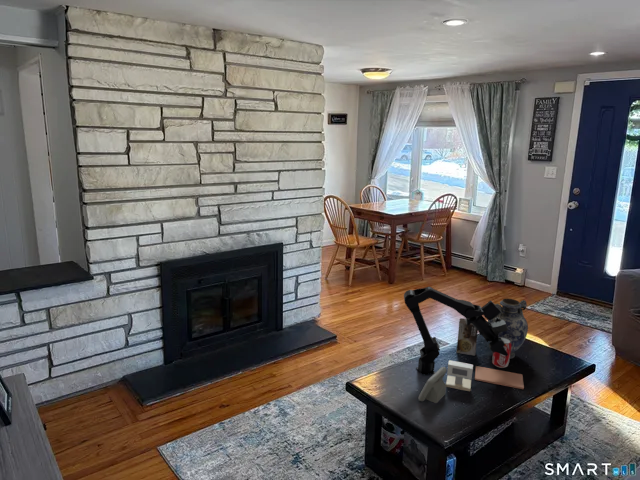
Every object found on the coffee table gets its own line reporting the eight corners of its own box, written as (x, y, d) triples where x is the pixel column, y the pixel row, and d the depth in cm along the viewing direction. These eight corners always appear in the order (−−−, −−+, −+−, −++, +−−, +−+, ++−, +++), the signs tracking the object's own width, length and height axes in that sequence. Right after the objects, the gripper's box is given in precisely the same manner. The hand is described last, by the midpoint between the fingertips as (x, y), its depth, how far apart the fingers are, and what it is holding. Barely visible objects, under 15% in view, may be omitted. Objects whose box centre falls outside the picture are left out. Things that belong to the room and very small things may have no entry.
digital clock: (434, 384, 203) (437, 362, 201) (452, 393, 196) (455, 370, 194) (411, 397, 193) (413, 374, 190) (429, 407, 186) (431, 383, 184)
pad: (474, 379, 208) (475, 378, 208) (475, 367, 219) (475, 365, 219) (523, 389, 202) (523, 387, 201) (522, 376, 213) (522, 374, 212)
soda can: (512, 367, 207) (515, 342, 204) (499, 370, 204) (503, 344, 202) (500, 360, 213) (504, 335, 210) (488, 362, 211) (491, 337, 208)
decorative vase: (505, 342, 246) (512, 292, 239) (534, 358, 230) (542, 305, 223) (473, 349, 238) (480, 297, 231) (500, 366, 221) (508, 311, 214)
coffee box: (475, 350, 236) (479, 320, 232) (475, 356, 230) (478, 325, 226) (456, 347, 239) (459, 317, 235) (455, 352, 233) (459, 322, 229)
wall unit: (470, 391, 198) (472, 370, 196) (445, 386, 202) (447, 365, 199) (470, 382, 206) (473, 361, 203) (447, 377, 209) (449, 357, 207)
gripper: (502, 323, 195) (526, 350, 196) (492, 307, 213) (514, 332, 214) (480, 339, 198) (504, 365, 199) (472, 321, 216) (494, 346, 217)
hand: (505, 351), depth 207 cm, fingers closed on soda can, 7 cm apart
